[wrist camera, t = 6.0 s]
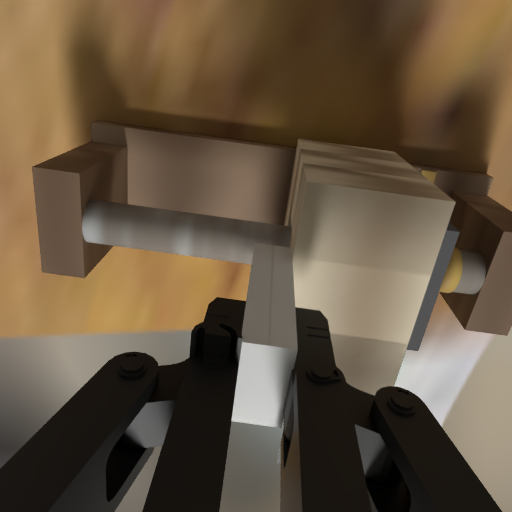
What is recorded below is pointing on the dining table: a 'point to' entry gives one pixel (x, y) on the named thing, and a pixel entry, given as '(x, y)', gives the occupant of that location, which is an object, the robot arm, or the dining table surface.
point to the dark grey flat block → (433, 286)
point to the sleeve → (363, 251)
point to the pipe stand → (236, 210)
